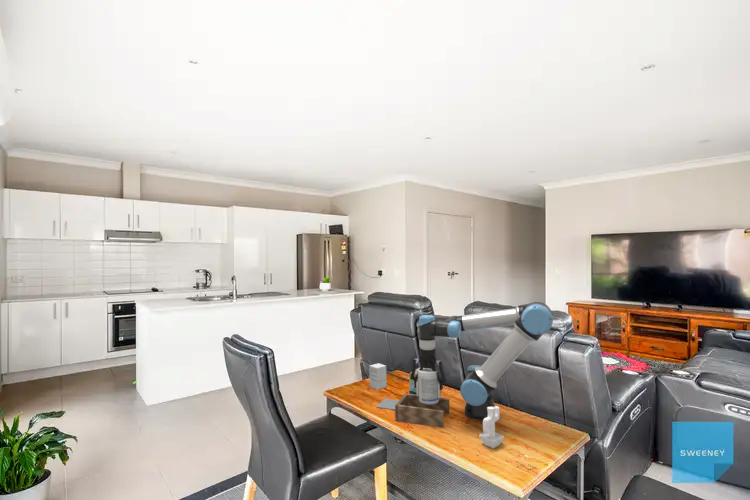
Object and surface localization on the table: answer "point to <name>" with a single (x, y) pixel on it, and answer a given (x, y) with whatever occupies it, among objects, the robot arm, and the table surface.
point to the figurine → (491, 428)
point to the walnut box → (421, 411)
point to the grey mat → (388, 404)
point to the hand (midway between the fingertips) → (428, 395)
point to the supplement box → (377, 376)
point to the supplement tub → (428, 386)
